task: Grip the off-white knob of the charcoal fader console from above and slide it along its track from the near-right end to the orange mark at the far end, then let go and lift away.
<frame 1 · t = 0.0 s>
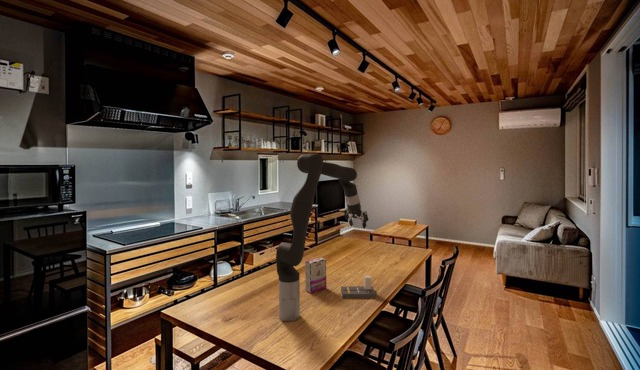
hand: (358, 226, 190), 31 cm above the table, tool tilted 20°, fingers open, 8 cm apart
fader console: (357, 293, 174), on the table
fader knob: (367, 283, 173), point 6 cm above the table, slide at -5.0 cm
candy bar box: (315, 289, 179), on the table
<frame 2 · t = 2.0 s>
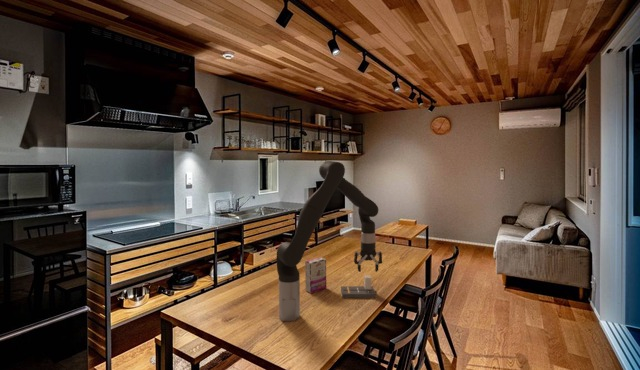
hand: (368, 271, 173), 12 cm above the table, tool pointing down, fingers open, 8 cm apart
nothing on the table moved.
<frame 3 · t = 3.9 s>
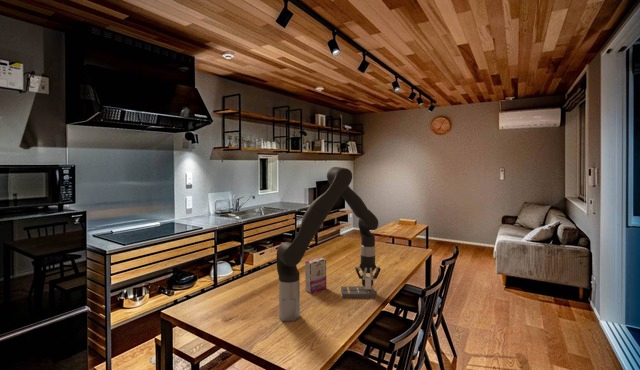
hand: (367, 286, 173), 4 cm above the table, tool pointing down, fingers closed on fader knob, 3 cm apart
fader knob: (367, 283, 173), point 6 cm above the table, slide at -5.0 cm, touching gripper
everything else where it was.
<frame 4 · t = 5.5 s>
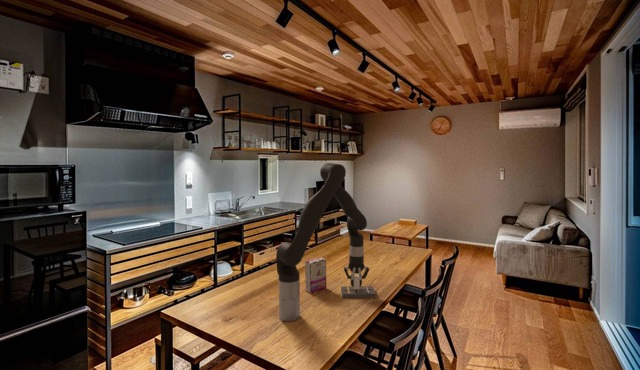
hand: (356, 286, 173), 4 cm above the table, tool pointing down, fingers closed on fader knob, 3 cm apart
fader knob: (356, 283, 173), point 6 cm above the table, slide at 1.0 cm, touching gripper
everything else where it was.
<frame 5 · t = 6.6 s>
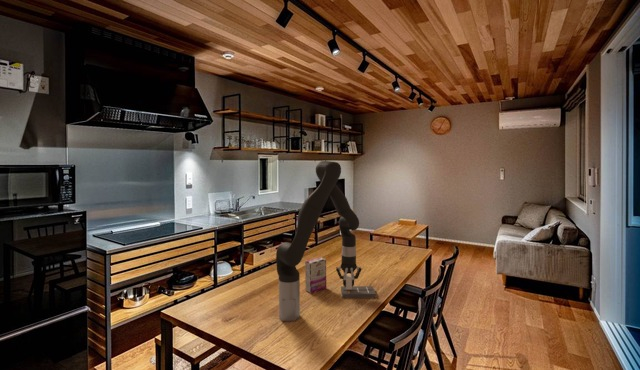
hand: (348, 286, 173), 4 cm above the table, tool pointing down, fingers closed on fader knob, 3 cm apart
fader knob: (348, 283, 173), point 6 cm above the table, slide at 5.0 cm, touching gripper
everything else where it was.
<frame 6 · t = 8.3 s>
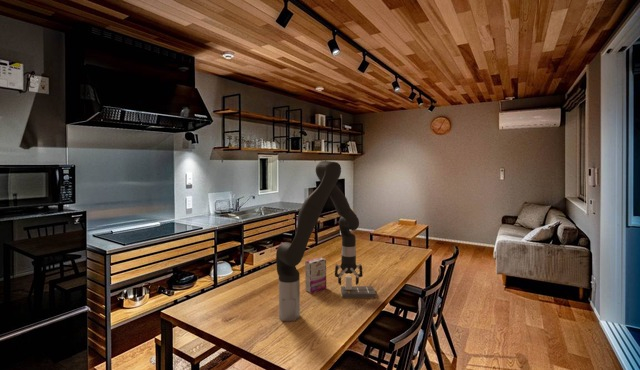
hand: (348, 284, 173), 5 cm above the table, tool pointing down, fingers open, 8 cm apart
fader knob: (348, 283, 173), point 6 cm above the table, slide at 5.0 cm
everything else where it was.
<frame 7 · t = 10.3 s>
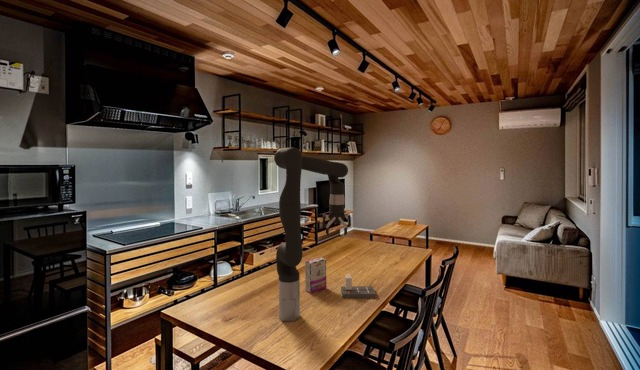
hand: (336, 235, 167), 32 cm above the table, tool pointing down, fingers open, 8 cm apart
nothing on the table moved.
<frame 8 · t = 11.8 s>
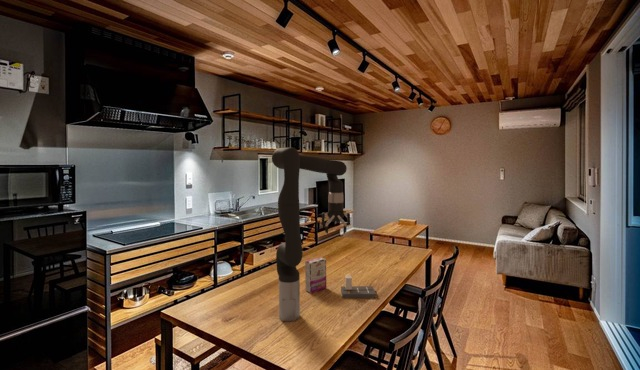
hand: (335, 233, 167), 33 cm above the table, tool pointing down, fingers open, 8 cm apart
nothing on the table moved.
at the end: fader knob slide at 5.0 cm; the gripper is holding nothing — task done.
